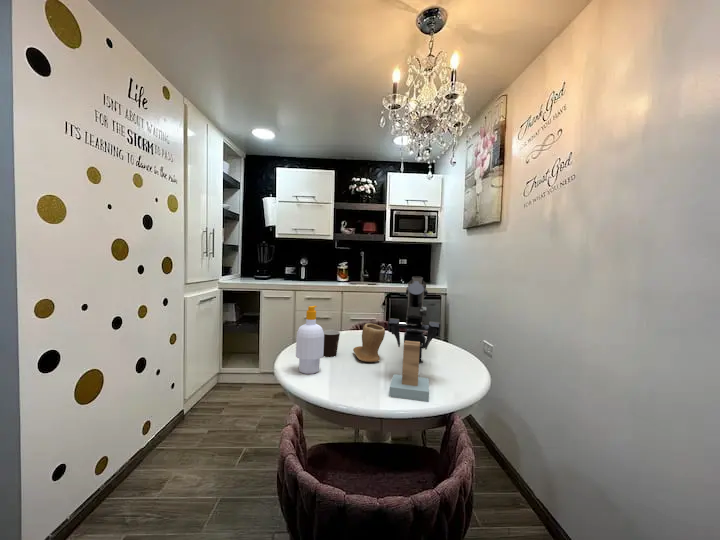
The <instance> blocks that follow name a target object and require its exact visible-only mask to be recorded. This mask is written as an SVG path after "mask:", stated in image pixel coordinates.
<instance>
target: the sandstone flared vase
mask: <svg viewBox="0 0 720 540" xmlns="http://www.w3.org/2000/svg"><path fill="white" fill-rule="evenodd" d="M385 329H386V328H384V326H382V325H378V324H375V323H365V324H364V325H363V327H362V332H361V343H362V345H360V346H355V347H353V349H352V350H353V353H354V355H355V356H356V358H357V359H358V360H360V361H361V362H365V363H373V362H376V363H377V362H379V361H381V360H380V359H381V357H380V354H379V349H380V346H381V345H382V343H383V341H384V339H385V334H386V330H385Z"/></svg>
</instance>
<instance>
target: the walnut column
mask: <svg viewBox="0 0 720 540" xmlns="http://www.w3.org/2000/svg"><path fill="white" fill-rule="evenodd" d="M419 352H420V342H415V341H405V342H404V341H403V354H402V374H401V375H402V384H404V385H412V386H418V377H419V372H420V371H419V368H420V363H419Z"/></svg>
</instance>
